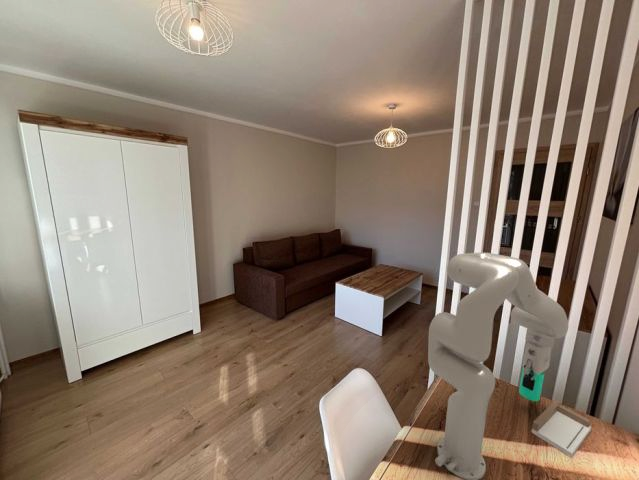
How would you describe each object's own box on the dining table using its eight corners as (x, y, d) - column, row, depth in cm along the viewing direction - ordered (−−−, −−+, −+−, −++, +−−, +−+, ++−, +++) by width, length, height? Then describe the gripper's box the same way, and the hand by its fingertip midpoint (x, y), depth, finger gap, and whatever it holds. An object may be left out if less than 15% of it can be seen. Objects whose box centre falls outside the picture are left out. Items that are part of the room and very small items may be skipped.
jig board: (571, 457, 79) (573, 446, 78) (531, 432, 87) (533, 421, 87) (590, 430, 88) (592, 420, 88) (552, 410, 97) (554, 400, 96)
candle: (532, 390, 98) (537, 360, 97) (544, 402, 92) (550, 371, 91) (515, 388, 99) (520, 358, 97) (525, 400, 93) (531, 369, 91)
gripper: (542, 349, 85) (533, 400, 88) (562, 337, 94) (553, 384, 96) (516, 339, 91) (507, 386, 94) (536, 328, 100) (528, 372, 103)
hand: (530, 384), depth 95 cm, fingers closed on candle, 4 cm apart
